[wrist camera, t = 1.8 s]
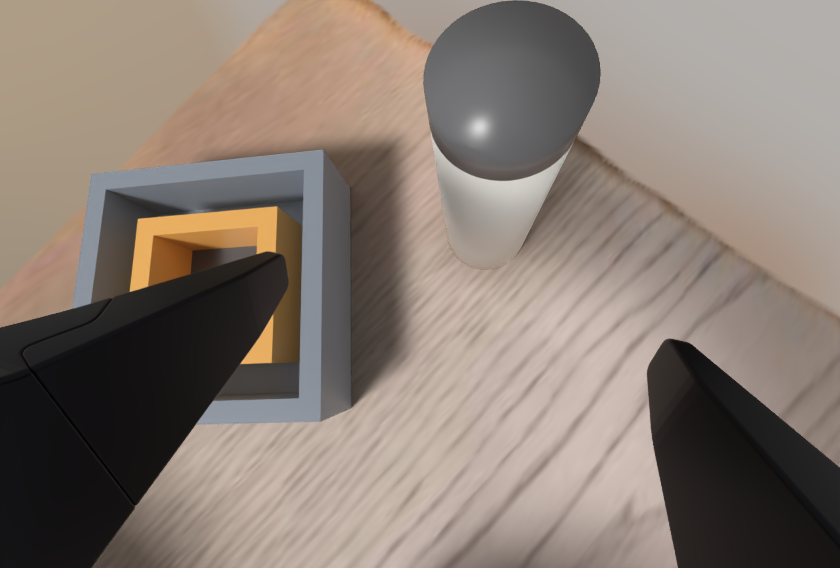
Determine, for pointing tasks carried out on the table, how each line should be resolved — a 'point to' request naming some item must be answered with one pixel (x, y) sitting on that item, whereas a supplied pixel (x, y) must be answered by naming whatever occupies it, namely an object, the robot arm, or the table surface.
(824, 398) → the table surface
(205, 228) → the box
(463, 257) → the grey capped shaker bottle
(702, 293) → the table surface
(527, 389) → the table surface
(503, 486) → the table surface
